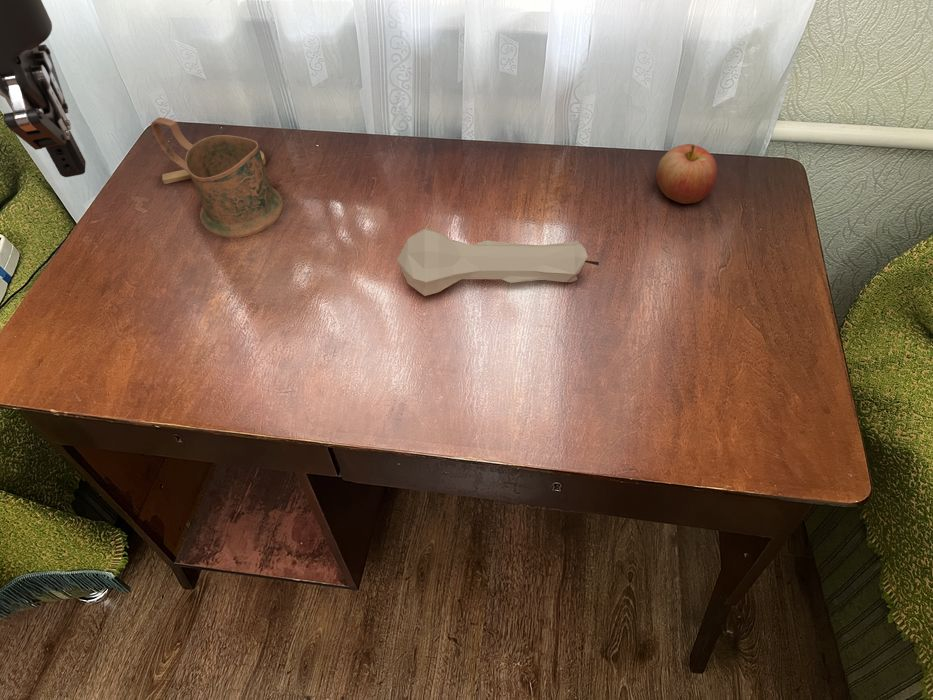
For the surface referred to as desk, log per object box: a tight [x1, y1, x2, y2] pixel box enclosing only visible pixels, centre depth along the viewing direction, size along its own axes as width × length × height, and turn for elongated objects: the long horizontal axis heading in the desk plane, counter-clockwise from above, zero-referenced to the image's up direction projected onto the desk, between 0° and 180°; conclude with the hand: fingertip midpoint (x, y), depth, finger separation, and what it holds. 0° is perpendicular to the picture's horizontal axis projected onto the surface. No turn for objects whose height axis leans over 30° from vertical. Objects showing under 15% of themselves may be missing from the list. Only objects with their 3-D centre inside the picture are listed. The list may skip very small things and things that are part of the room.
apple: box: [655, 143, 718, 205], centre depth 95 cm, size 8×8×8 cm
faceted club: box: [396, 227, 600, 297], centre depth 86 cm, size 9×8×25 cm
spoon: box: [161, 149, 267, 185], centre depth 105 cm, size 15×4×1 cm, turn 108°
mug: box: [150, 117, 284, 239], centre depth 95 cm, size 12×18×12 cm, turn 61°
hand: (74, 171), depth 65 cm, fingers closed
